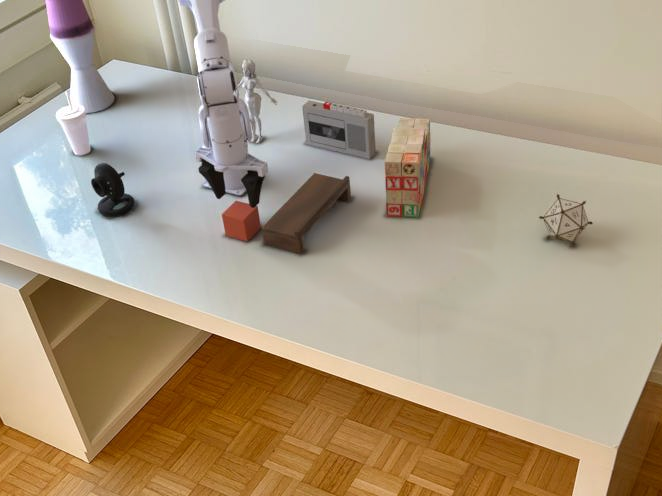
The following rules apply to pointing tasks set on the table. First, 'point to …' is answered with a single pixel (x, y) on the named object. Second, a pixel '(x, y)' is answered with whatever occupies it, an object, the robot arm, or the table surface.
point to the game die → (566, 220)
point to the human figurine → (253, 96)
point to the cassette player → (339, 128)
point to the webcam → (110, 191)
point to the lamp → (78, 53)
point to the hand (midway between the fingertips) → (238, 200)
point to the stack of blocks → (407, 167)
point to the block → (241, 221)
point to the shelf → (304, 211)
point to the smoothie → (75, 126)
